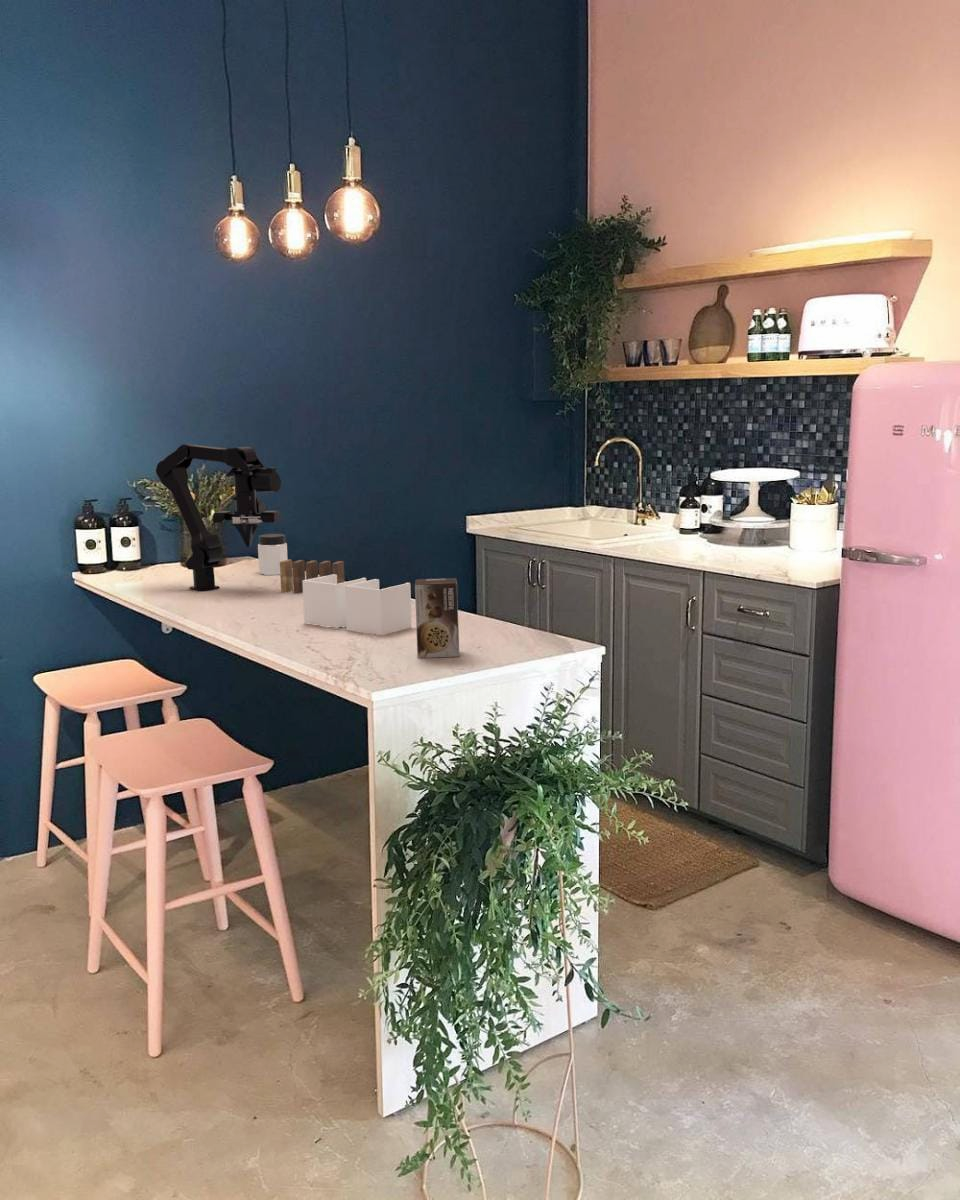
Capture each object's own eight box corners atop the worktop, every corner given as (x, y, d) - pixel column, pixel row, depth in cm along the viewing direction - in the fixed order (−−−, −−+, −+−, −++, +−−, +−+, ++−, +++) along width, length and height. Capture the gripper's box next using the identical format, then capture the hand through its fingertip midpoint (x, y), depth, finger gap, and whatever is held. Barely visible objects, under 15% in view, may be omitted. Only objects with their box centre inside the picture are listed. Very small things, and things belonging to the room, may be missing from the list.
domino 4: (320, 594, 315) (318, 563, 313) (326, 591, 319) (325, 560, 318) (325, 594, 314) (324, 563, 313) (331, 591, 319) (330, 560, 317)
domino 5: (333, 594, 314) (332, 563, 312) (339, 591, 318) (338, 561, 317) (338, 594, 313) (337, 563, 312) (345, 591, 318) (343, 561, 316)
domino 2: (293, 593, 317) (292, 562, 315) (300, 590, 321) (299, 560, 320) (299, 593, 316) (297, 562, 315) (305, 590, 321) (304, 560, 319)
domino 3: (306, 593, 316) (305, 562, 314) (313, 590, 320) (312, 560, 319) (312, 593, 315) (310, 563, 314) (318, 590, 320) (317, 560, 318)
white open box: (304, 624, 275) (302, 580, 273) (335, 617, 283) (333, 574, 281) (381, 636, 260) (380, 589, 258) (411, 628, 269) (410, 583, 267)
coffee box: (458, 650, 244) (457, 577, 241) (459, 657, 238) (458, 582, 235) (417, 651, 244) (415, 578, 241) (416, 658, 237) (414, 583, 234)
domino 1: (281, 592, 318) (279, 561, 317) (288, 589, 323) (286, 559, 321) (286, 592, 318) (284, 562, 316) (293, 589, 322) (291, 559, 321)
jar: (269, 570, 358) (267, 533, 356) (292, 571, 356) (290, 534, 353) (254, 574, 350) (252, 536, 348) (277, 575, 347) (275, 537, 345)
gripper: (287, 489, 321) (290, 543, 324) (226, 489, 325) (230, 543, 328) (271, 492, 310) (275, 548, 313) (209, 493, 314) (213, 548, 317)
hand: (248, 547), depth 318 cm, fingers closed
